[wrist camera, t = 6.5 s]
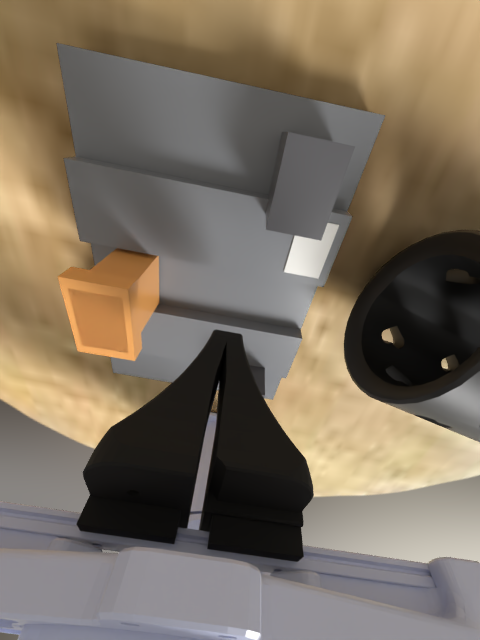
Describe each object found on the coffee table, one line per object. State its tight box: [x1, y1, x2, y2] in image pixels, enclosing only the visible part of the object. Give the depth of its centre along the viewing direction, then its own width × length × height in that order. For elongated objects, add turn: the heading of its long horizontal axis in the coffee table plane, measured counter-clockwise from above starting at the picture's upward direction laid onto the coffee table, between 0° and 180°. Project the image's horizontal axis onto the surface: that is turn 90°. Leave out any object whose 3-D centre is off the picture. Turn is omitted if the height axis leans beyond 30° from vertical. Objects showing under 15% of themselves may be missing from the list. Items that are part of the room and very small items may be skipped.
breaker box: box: [57, 43, 385, 400], centre depth 16 cm, size 20×14×6 cm
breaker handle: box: [58, 248, 159, 361], centre depth 15 cm, size 4×3×5 cm
